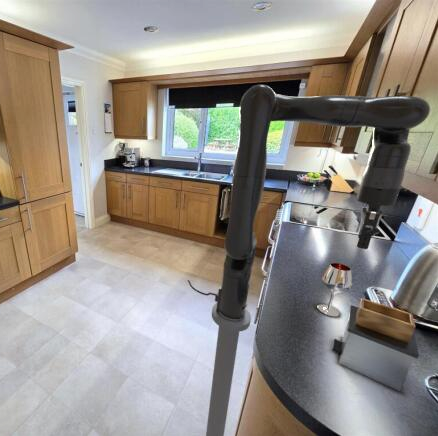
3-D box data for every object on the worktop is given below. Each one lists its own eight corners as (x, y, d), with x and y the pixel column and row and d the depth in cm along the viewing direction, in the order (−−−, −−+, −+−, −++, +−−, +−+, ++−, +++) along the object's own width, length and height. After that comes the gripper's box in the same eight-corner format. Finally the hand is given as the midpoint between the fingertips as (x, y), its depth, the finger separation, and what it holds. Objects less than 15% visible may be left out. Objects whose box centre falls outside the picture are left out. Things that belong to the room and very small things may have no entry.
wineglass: (338, 307, 90) (351, 264, 85) (345, 321, 83) (359, 275, 78) (313, 301, 93) (323, 259, 88) (317, 314, 86) (328, 269, 81)
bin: (330, 360, 68) (340, 325, 64) (334, 334, 77) (344, 302, 74) (402, 393, 59) (419, 355, 55) (397, 360, 68) (412, 325, 65)
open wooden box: (355, 323, 65) (360, 308, 64) (356, 312, 69) (361, 297, 68) (408, 343, 59) (415, 326, 57) (405, 329, 63) (412, 313, 62)
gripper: (361, 180, 69) (346, 233, 74) (359, 186, 59) (343, 247, 64) (398, 183, 64) (380, 239, 69) (403, 190, 54) (381, 256, 59)
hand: (362, 243), depth 67 cm, fingers open, 8 cm apart
